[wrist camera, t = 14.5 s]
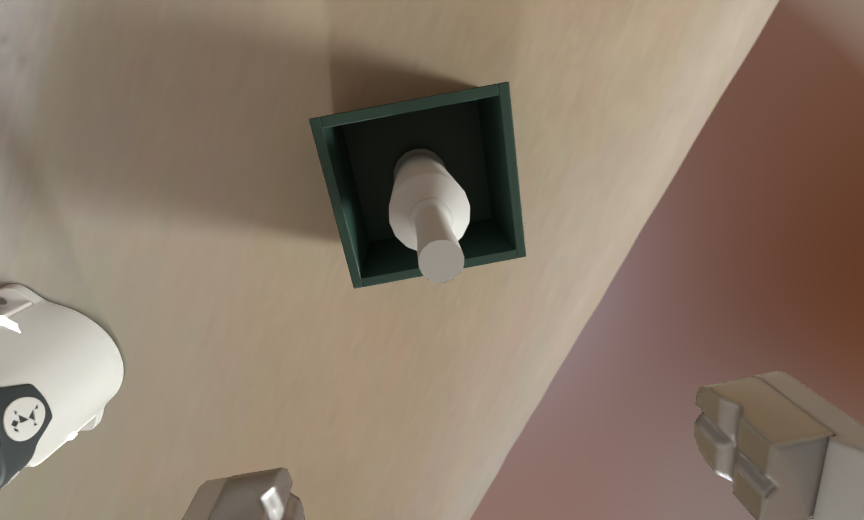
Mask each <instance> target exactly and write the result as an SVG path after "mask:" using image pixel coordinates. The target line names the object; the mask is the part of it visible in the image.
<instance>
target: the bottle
mask: <svg viewBox="0 0 864 520" xmlns="http://www.w3.org/2000/svg"><path fill="white" fill-rule="evenodd" d="M469 221H470V205H469V202H468V199H467V196H466V194H465V191H464V190H463V189H462V188H461V187H460V186H459V184H458V183H457V182H456V181H455V180H454V178H453V177H452V176H451V175H450V174H449V173H448V171H447V170H446V168H445V165H444V163H443V161H442V160H441V159H440V158H439V157H438V156H437V155H436V153H434V152H431V151H429V150H427V149H413V150H411V151H409V152H406V153H405V154H404V155H403V156H402V157H401V158H400V159H399V160H398V161H397V164H396V167H395V169H394V186H393V191H392V195H391V200H390V204H389V223H390V225H391V227H392V229H393V232H394V234H395V236H396V237H397V238H398V239H399V240H400V241H401V242H402V243H403V244H404V245H405V246H406V247H408V248H411V249H413V250H416V251H417V255H418V265H419V268H420V270H421V273H422V274H423V275H424V276H425V277H426V278H427V279H428V280H430V281H433V282H436V283H446V282H449V281H451V280H454V279H455V278H456V277H457V276H458V275H459V274H460V273H461V271H462V269H463V267H464V255H463V252H462V250H461V247H460V245H459V242H458V240H459V239H460V238H461V237H462V236H463V235H464V233H465V230H466V228H467V226H468V224H469Z"/></svg>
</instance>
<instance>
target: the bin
mask: <svg viewBox="0 0 864 520" xmlns="http://www.w3.org/2000/svg"><path fill="white" fill-rule="evenodd" d="M309 121H310V125H311V129H312V133H313V136H314V140H315V144H316V148H317V151H318V155H319V159H320V163H321V166H322V170H323V174H324V178H325V181H326V185H327V189H328V193H329V197H330V200H331V204H332V208H333V212H334V215H335V219H336V223H337V227H338V230H339V234H340V238H341V242H342V246H343V249H344V253H345V257H346V261H347V264H348V268H349V272H350V276H351V279H352V283H353V287H354V289H355V288H361V287H367V286H372V285H377V284H383V283H388V282H393V281H398V280H404V279H409V278H414V277H420V276H424V275H423V274H422V273H421V270H420V268H419V265H418V255H417V251H416V250H413V249H411V248H408V247H406V246H405V245H404V244H403V243H402V242H401V241H400V240H399V239H398V238H397V237H396V236H395V234H394V232H393V229H392V227H391V225H390V223H389V204H390V200H391V195H392V191H393V186H394V169H395V167H396V164H397V161H398V160H399V159H400V158H401V157H402V156H403V155H404V154H405V153H406V152H409V151H411V150H413V149H427V150H429V151H431V152H434V153H436V155H437V156H438V157H439V158H440V159H441V160H442V161H443V163H444V165H445V168H446V170H447V171H448V173H449V174H450V175H451V176H452V177H453V178H454V180H455V181H456V182H457V183H458V184H459V186H460V187H461V188H462V189H463V190H464V191H465V194H466V196H467V199H468V202H469V205H470V221H469V224H468V226H467V228H466V230H465V233H464V235H463V236H462V237H461V238H460V239H459V240H458V242H459V245H460V247H461V250H462V252H463V255H464V267H463V268H468V267H473V266H478V265H483V264H489V263H494V262H499V261H505V260H510V259H515V258H520V257H525V256H526V247H525V237H524V227H523V217H522V207H521V197H520V187H519V177H518V167H517V158H516V148H515V138H514V128H513V118H512V108H511V98H510V88H509V82H503V83H498V84H493V85H487V86H482V87H477V88H471V89H466V90H461V91H455V92H450V93H445V94H439V95H434V96H429V97H423V98H418V99H413V100H407V101H402V102H397V103H391V104H386V105H381V106H375V107H370V108H365V109H359V110H354V111H349V112H343V113H338V114H333V115H327V116H322V117H317V118H311V119H309Z"/></svg>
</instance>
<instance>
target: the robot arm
mask: <svg viewBox="0 0 864 520" xmlns="http://www.w3.org/2000/svg"><path fill="white" fill-rule="evenodd" d="M4 299H5V300H6V301H5V300H4ZM123 372H124V371H123V362H122V358H121V355H120V352H119V350H118V348H117V346H116V345H115V343H114V342H113V340H112V339H111V338H110V336H109V335H108V334H107V333H106V332H105V331H104V330H103V329H102V328H101V327H100V326H99V325H98V324H96V323H95V322H94V321H92V320H91V319H89V318H88V317H86V316H85V315H83V314H81V313H79V312H77V311H75V310H72V309H70V308H67V307H64V306H61V305H58V304H55V303H52V302H49V301H47V300H44V299H43V298H41V297H40V296H38V295H37V294H35V293H34V292H32V291H31V290H29V289H28V288H26V287H24V286H22V285H19V284H9V285H6V286H4V287H1V288H0V489H2V488H3V487H5V486H6V485H7V484H8V483H9V482H11V481H12V480H13V479H14V478H15V477H16V476H17V474H18V473H19V472H20V471H21V470H22V469H23V468H24V467H29V466H30V467H34V466H36V465H38V464H40V463H41V462H43V461H44V460H45V459H46V458H47V457H49V456H50V455H51V454H52V453H53V452H54V451H56V450H57V449H58V448H59V447H60V446H61V445H63V444H64V443H65V442H66V441H67V440H71V439H73V438H74V437H75V436H76V435H77V432H78V431H87V430H91V429H93V428H94V427H95V426H96V425H98V424H99V423H100V421H101V419H102V416H103V412H104V407H105V405H106V404H107V403H108V402H109V401H110V400H111V399H112V398H113V397H114V395H115V394H116V393H117V391H118V390H119V388H120V386H121V383H122V380H123ZM696 405H697V406H698V407H699V408H700V409H701V410H702V413H701V414H700V415H699V417H698V418H697V419H696V421H695V422H694V436H695V439H696V442H697V445H698V448H699V451H700V452H701V454H702V456H703V458H704V459H705V461H706V462H707V463H708V465H709V466H710V467H711V468H712V470H713V471H714V472H715V473H717V474H719V475H721V476H723V477H724V478H726V479H729V480H730V481H732V487H733V494H734V495H735V496H736V498H737V499H738V500H739V501H740V502H741V503H742V505H743V506H744V507H745V508H746V509H747V510H748V511H749V513H750V514H751V515H752V516H753V517H754V518H755V519H756V520H810V519H813V520H864V426H863V425H862V424H860V423H859V422H857V421H856V420H854V419H853V418H852V417H850V416H848V415H847V414H846V413H844V412H843V411H841V410H840V409H838V408H837V407H835V406H834V405H833V404H831V403H829V402H828V401H827V400H825V399H824V398H822V397H821V396H820V395H818V394H816V393H815V392H814V391H812V390H811V389H809V388H808V387H806V386H805V385H803V384H802V383H801V382H799V381H798V380H796V379H795V378H793V377H792V376H790V375H789V374H787V373H784V372H780V371H775V372H770V373H765V374H760V375H755V376H752V377H747V378H742V379H737V380H732V381H727V382H722V383H717V384H712V385H707V386H702V387H700V388H699V390H698V391H697V393H696ZM292 483H293V480H292V478H291V476H290V474H289V472H288V469H286V468H277V469H271V470H265V471H259V472H252V473H246V474H240V475H234V476H232V477H227V478H220V479H214V480H208V481H206V482H205V483H204V484H202V485H201V486H200V487H199V489H198V490H197V492H196V494H195V496H194V498H193V500H192V502H191V504H190V505H189V507H188V509H187V511H186V513H185V515H184V517H183V519H182V520H305V516H304V510H303V506H302V503H301V501H300V498H298V497H297V496H295V495H294V494H292V493H291V492H290V490H291V486H292Z"/></svg>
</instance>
